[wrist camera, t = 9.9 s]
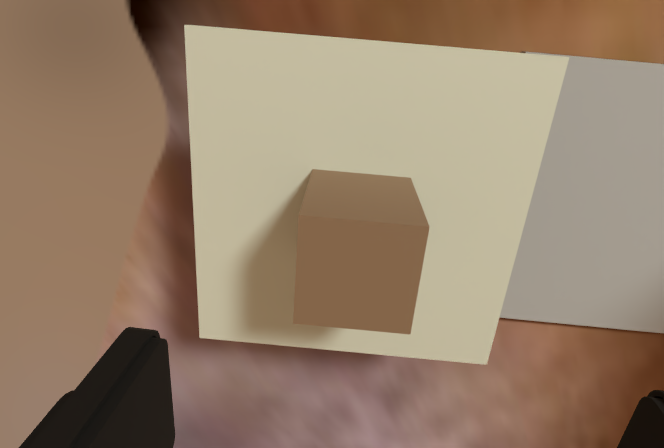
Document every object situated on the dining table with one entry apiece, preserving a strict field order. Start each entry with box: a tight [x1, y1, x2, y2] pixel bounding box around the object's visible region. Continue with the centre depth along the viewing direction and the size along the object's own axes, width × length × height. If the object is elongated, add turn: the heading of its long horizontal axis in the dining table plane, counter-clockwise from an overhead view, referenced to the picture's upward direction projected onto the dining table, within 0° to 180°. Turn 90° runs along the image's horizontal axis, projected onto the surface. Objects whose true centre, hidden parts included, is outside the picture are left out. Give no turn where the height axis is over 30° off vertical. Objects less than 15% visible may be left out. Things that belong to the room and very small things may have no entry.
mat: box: [499, 51, 664, 333], centre depth 26 cm, size 16×16×1 cm
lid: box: [184, 25, 569, 365], centre depth 17 cm, size 14×14×6 cm
